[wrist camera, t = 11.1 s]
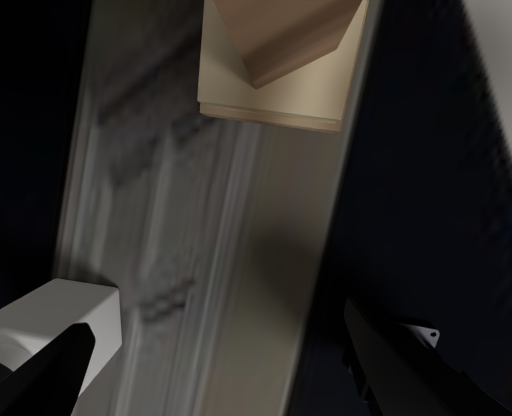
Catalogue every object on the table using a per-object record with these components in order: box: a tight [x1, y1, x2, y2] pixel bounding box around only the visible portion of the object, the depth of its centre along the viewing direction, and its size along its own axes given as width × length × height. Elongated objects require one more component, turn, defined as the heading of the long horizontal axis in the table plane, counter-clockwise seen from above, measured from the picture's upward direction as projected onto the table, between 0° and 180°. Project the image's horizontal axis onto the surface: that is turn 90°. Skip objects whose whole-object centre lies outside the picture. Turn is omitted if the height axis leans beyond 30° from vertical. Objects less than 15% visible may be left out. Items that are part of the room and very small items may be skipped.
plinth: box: [197, 0, 369, 134], centre depth 16 cm, size 10×10×4 cm
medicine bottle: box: [0, 278, 122, 397], centre depth 20 cm, size 7×7×12 cm
